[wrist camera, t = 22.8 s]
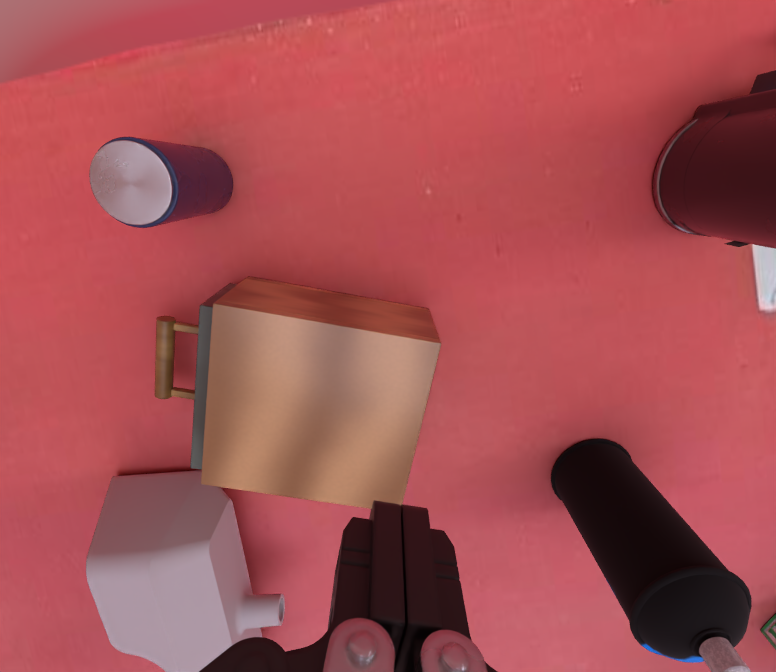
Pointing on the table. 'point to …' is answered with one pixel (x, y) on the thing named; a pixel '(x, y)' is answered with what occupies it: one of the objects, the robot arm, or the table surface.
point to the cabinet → (315, 393)
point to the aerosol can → (653, 559)
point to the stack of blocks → (770, 631)
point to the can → (158, 181)
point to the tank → (174, 572)
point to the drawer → (166, 367)
